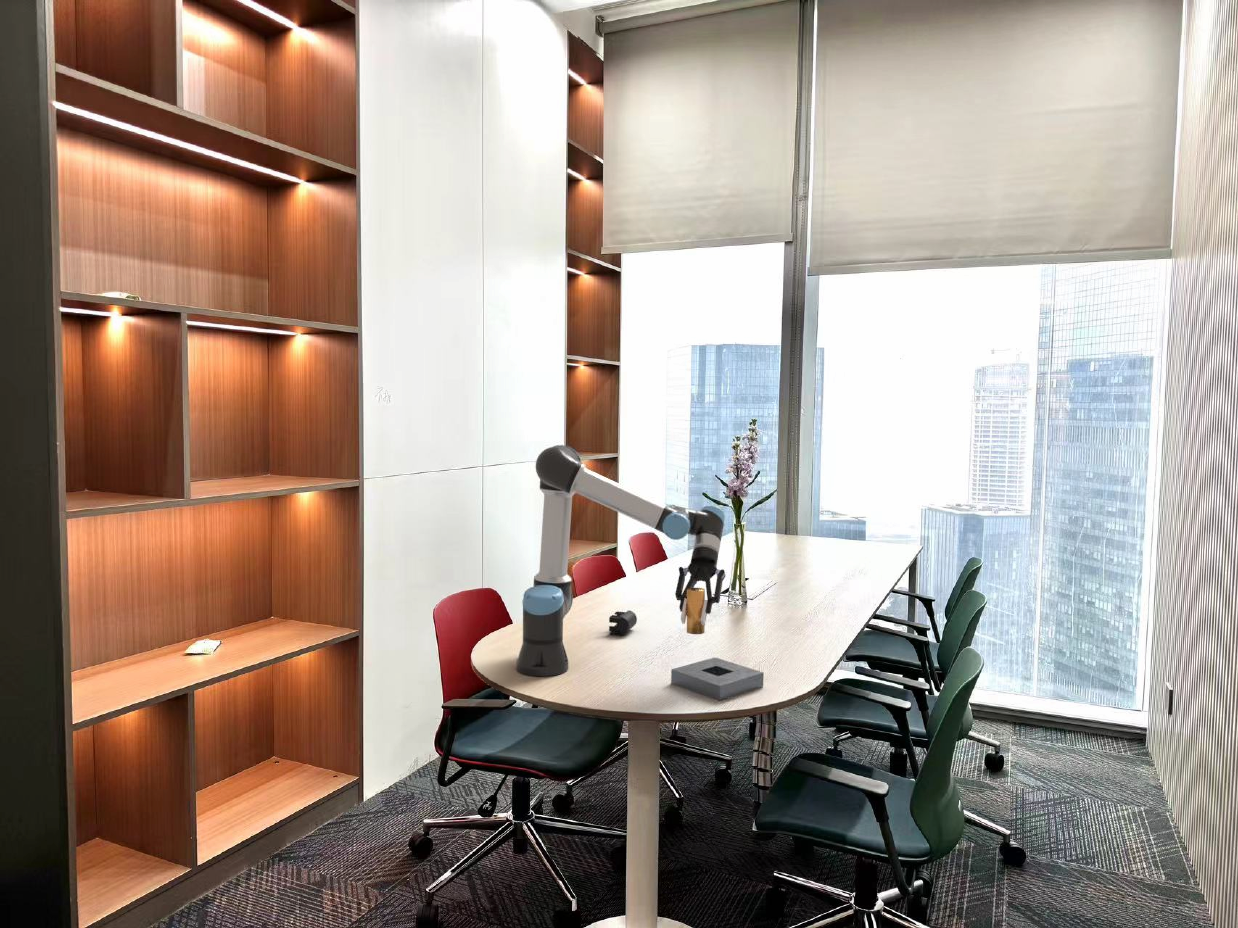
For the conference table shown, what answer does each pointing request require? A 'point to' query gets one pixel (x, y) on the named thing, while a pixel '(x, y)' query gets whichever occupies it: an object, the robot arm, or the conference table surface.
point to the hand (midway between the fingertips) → (692, 621)
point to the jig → (717, 678)
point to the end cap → (622, 622)
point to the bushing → (695, 610)
